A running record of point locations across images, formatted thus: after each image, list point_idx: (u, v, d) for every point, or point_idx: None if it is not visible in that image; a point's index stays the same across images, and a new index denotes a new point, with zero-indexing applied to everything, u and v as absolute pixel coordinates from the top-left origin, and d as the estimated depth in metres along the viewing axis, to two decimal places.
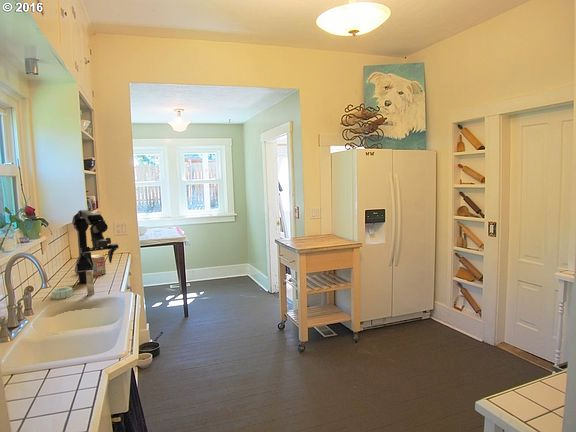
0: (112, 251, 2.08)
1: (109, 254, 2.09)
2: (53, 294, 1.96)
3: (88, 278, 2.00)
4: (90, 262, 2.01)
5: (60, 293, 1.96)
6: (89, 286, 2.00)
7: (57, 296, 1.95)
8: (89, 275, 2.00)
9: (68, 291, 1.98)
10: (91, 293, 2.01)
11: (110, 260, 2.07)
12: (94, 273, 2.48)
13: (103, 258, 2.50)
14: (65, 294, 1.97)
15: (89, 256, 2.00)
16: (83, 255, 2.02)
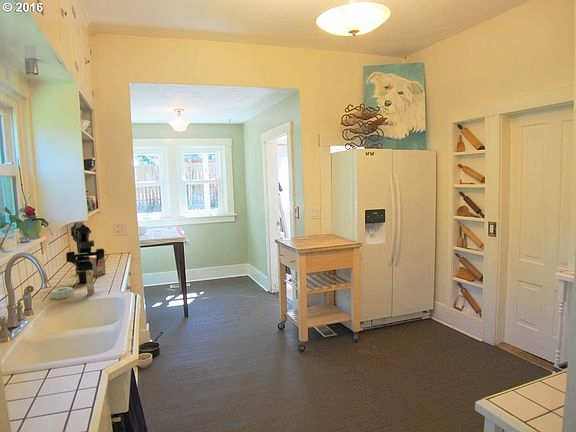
0: (98, 255, 2.13)
1: (96, 259, 2.13)
2: (53, 294, 1.96)
3: (88, 278, 2.00)
4: (76, 265, 2.06)
5: (60, 293, 1.96)
6: (89, 286, 2.00)
7: (57, 296, 1.95)
8: (89, 275, 2.00)
9: (68, 291, 1.98)
10: (91, 293, 2.01)
11: (96, 263, 2.10)
12: (94, 273, 2.48)
13: (103, 258, 2.50)
14: (65, 294, 1.97)
15: (74, 259, 2.06)
16: (70, 262, 2.08)
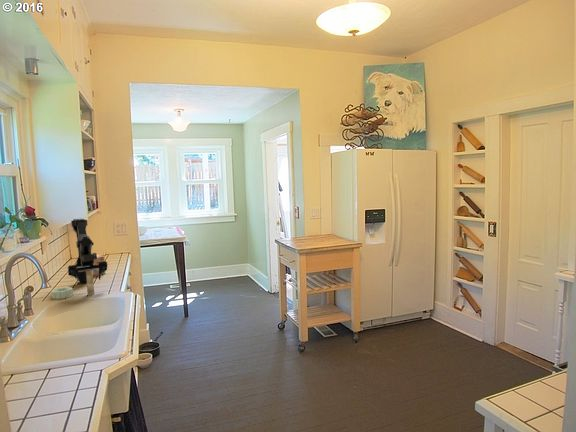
0: (100, 268, 2.06)
1: None
2: (53, 294, 1.96)
3: (88, 278, 2.00)
4: (78, 279, 1.99)
5: (60, 293, 1.96)
6: (89, 286, 2.00)
7: (57, 296, 1.95)
8: (89, 275, 2.00)
9: (68, 291, 1.98)
10: (91, 293, 2.01)
11: (99, 276, 2.04)
12: (94, 273, 2.48)
13: (103, 258, 2.50)
14: (65, 294, 1.97)
15: (76, 273, 2.00)
16: (72, 275, 2.02)
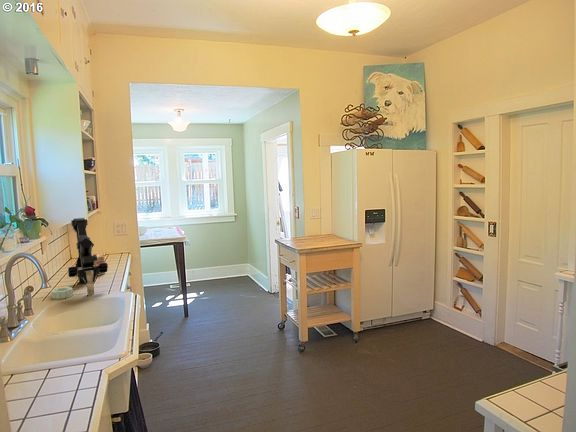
0: (95, 270, 2.04)
1: (93, 274, 2.04)
2: (53, 294, 1.96)
3: (88, 278, 2.00)
4: (84, 280, 2.00)
5: (60, 293, 1.96)
6: (89, 286, 2.00)
7: (57, 296, 1.95)
8: (89, 275, 2.00)
9: (68, 291, 1.98)
10: (91, 293, 2.01)
11: (93, 279, 2.02)
12: None
13: (102, 258, 2.50)
14: (65, 294, 1.97)
15: (83, 274, 2.01)
16: (79, 276, 2.03)
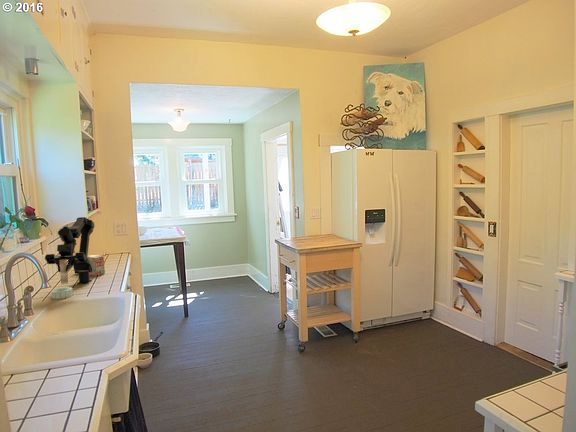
0: (70, 259, 2.01)
1: None
2: (53, 294, 1.96)
3: (60, 267, 1.98)
4: (58, 268, 1.98)
5: (60, 293, 1.96)
6: (61, 275, 1.98)
7: (57, 296, 1.95)
8: (61, 263, 1.97)
9: (68, 291, 1.98)
10: (63, 282, 1.98)
11: (66, 268, 1.98)
12: (93, 273, 2.48)
13: (102, 258, 2.50)
14: (65, 294, 1.97)
15: (57, 262, 1.99)
16: (57, 264, 2.03)
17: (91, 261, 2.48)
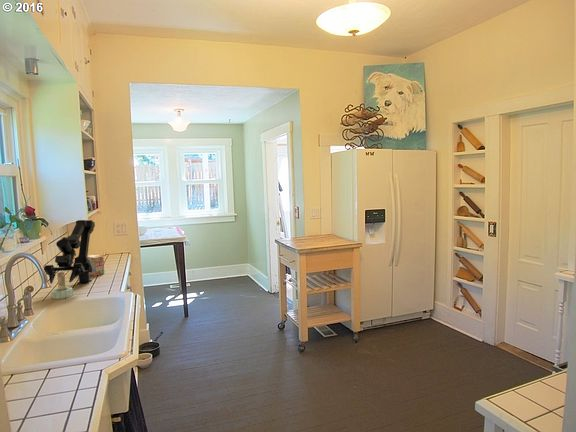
0: (73, 270, 2.01)
1: None
2: (53, 294, 1.96)
3: (58, 280, 1.98)
4: (50, 280, 1.99)
5: (60, 293, 1.96)
6: (59, 288, 1.98)
7: (57, 296, 1.95)
8: (59, 277, 1.98)
9: (68, 291, 1.98)
10: None
11: None
12: (93, 273, 2.48)
13: (102, 258, 2.50)
14: (65, 294, 1.97)
15: (50, 273, 2.00)
16: None
17: (91, 261, 2.48)
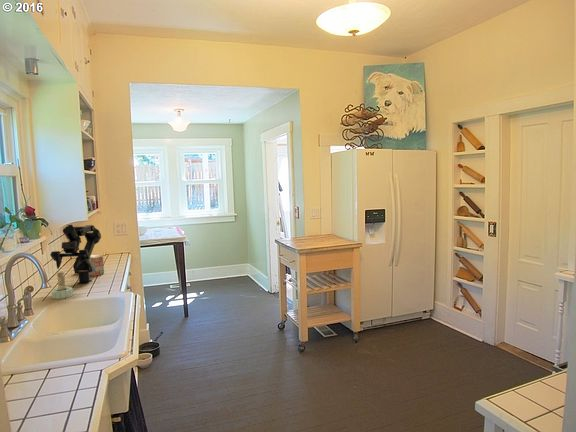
0: (79, 256, 2.10)
1: None
2: (53, 294, 1.96)
3: (58, 280, 1.98)
4: (57, 265, 2.07)
5: (60, 293, 1.96)
6: (59, 288, 1.98)
7: (57, 296, 1.95)
8: (59, 277, 1.98)
9: (68, 291, 1.98)
10: None
11: (75, 264, 2.08)
12: (92, 273, 2.48)
13: (101, 258, 2.51)
14: (65, 294, 1.97)
15: (56, 259, 2.08)
16: None
17: (90, 261, 2.48)
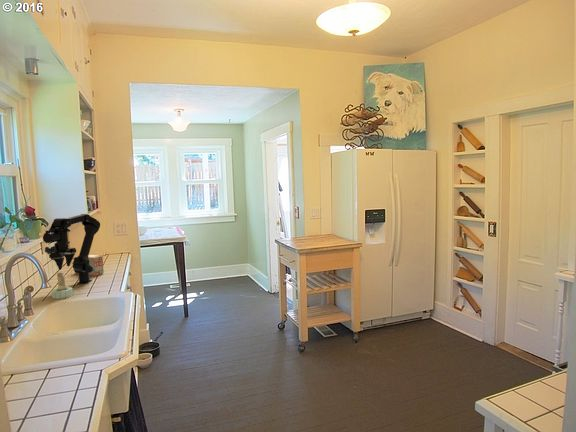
0: None
1: None
2: (53, 294, 1.96)
3: (58, 280, 1.98)
4: None
5: (60, 293, 1.96)
6: (59, 288, 1.98)
7: (57, 296, 1.95)
8: (59, 277, 1.98)
9: (68, 291, 1.98)
10: None
11: None
12: (92, 273, 2.48)
13: (101, 258, 2.51)
14: (65, 294, 1.97)
15: None
16: None
17: (90, 261, 2.49)
